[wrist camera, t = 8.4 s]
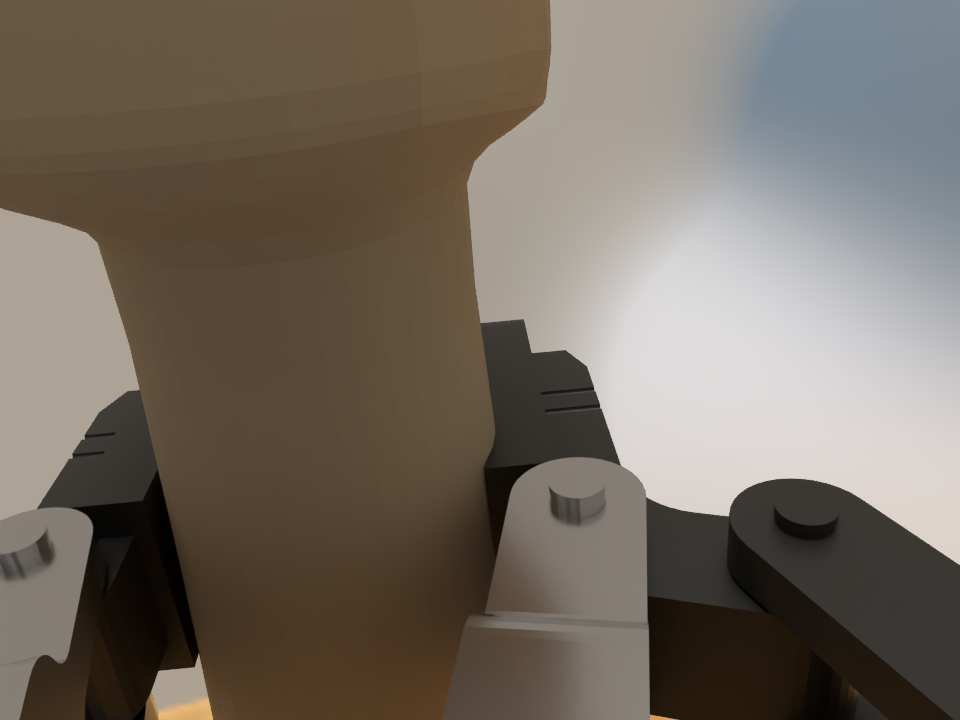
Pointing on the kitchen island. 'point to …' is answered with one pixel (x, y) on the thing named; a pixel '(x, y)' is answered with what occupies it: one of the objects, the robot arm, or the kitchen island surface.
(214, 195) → the handle
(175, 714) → the kitchen island surface
